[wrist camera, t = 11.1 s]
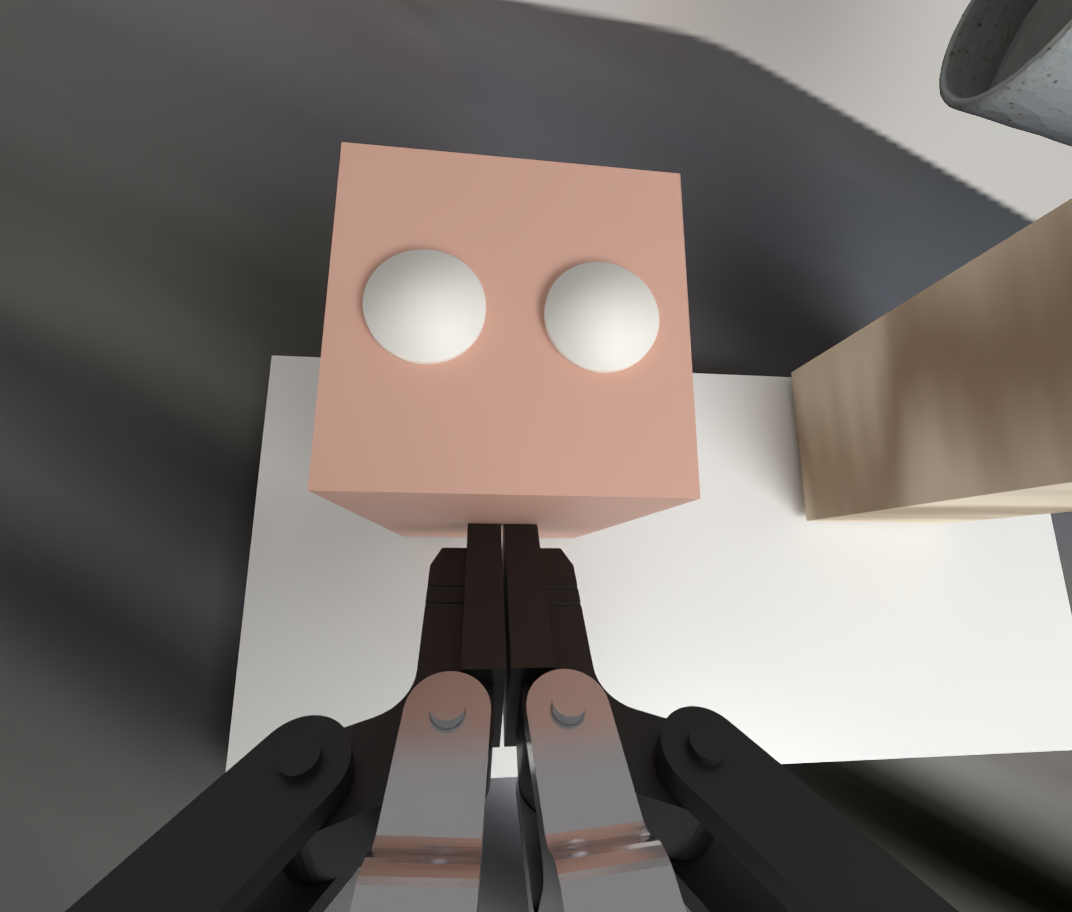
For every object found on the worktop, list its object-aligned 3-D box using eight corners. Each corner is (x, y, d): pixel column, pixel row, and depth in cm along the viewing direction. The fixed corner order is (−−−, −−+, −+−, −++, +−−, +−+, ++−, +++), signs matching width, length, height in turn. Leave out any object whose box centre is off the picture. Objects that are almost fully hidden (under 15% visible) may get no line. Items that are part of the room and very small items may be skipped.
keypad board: (991, 397, 20) (1023, 386, 19) (1058, 736, 18) (1099, 748, 17) (285, 369, 17) (271, 355, 16) (243, 773, 15) (223, 790, 14)
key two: (573, 538, 16) (705, 497, 7) (402, 536, 15) (303, 487, 6) (572, 380, 17) (683, 166, 8) (412, 372, 16) (338, 132, 7)
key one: (948, 523, 17) (1454, 474, 8) (806, 521, 17) (1185, 465, 8) (925, 379, 18) (1351, 200, 9) (791, 372, 18) (1109, 174, 9)
